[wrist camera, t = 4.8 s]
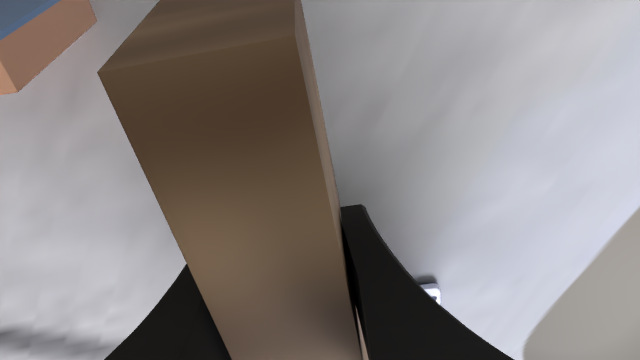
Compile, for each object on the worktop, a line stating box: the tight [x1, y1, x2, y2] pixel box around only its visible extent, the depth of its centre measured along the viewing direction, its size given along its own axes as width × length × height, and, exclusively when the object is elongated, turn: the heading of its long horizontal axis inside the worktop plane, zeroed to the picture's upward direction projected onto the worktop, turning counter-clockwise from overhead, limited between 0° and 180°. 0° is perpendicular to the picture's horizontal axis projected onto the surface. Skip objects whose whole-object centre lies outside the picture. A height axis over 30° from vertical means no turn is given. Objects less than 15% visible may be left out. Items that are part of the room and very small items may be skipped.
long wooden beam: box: [97, 0, 369, 360], centre depth 13 cm, size 14×3×5 cm, turn 10°
